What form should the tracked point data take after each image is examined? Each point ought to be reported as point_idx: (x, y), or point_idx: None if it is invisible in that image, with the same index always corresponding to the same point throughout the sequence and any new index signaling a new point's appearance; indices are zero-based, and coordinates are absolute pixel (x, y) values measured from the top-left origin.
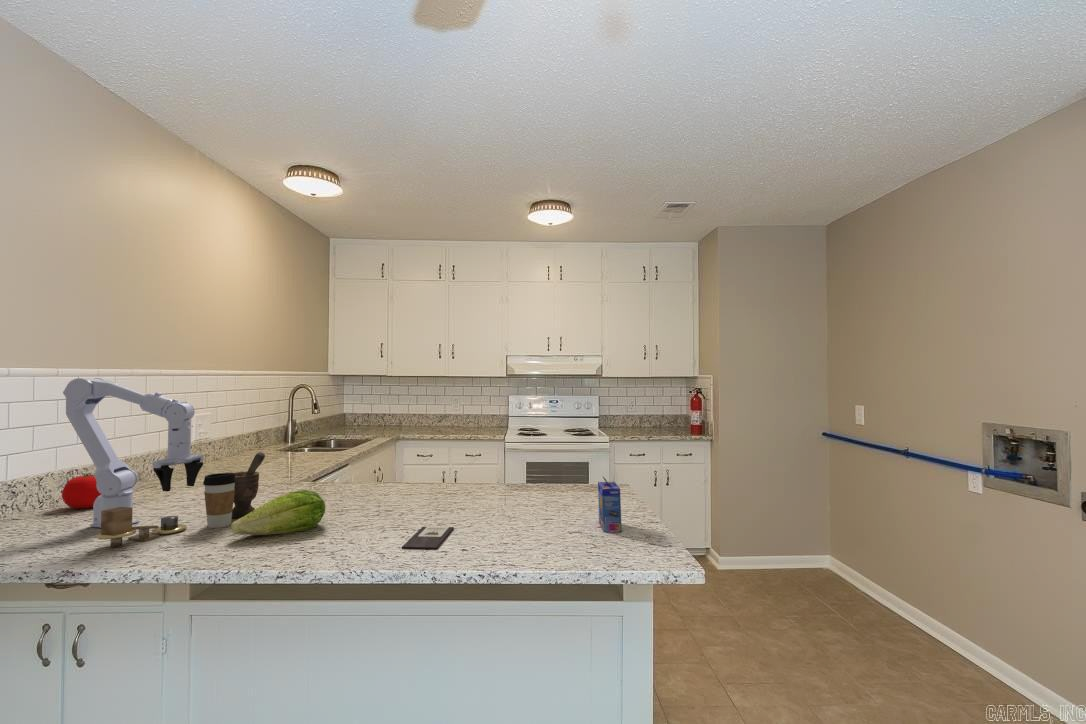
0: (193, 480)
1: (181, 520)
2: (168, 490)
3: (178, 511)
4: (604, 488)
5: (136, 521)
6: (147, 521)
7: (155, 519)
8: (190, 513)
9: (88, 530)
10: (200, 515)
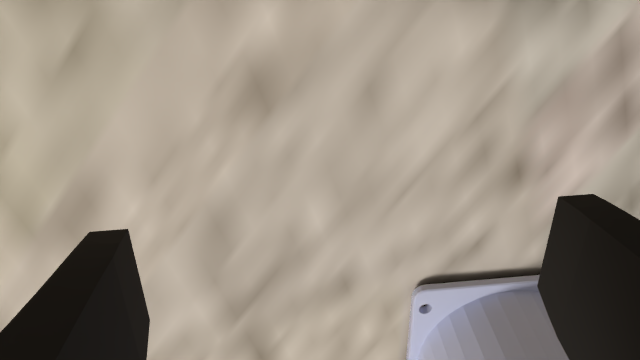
0: (91, 290)
1: (257, 65)
2: (597, 197)
3: None
4: None
5: (444, 288)
6: (375, 268)
7: (315, 271)
8: (66, 214)
9: None
10: (52, 71)
